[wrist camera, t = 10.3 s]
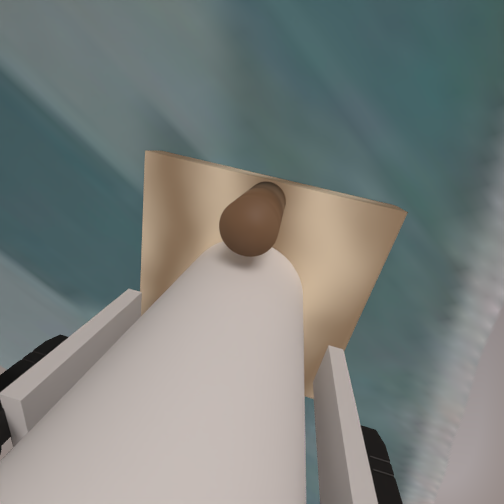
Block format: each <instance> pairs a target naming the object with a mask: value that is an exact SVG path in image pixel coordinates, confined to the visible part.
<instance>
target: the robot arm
mask: <svg viewBox="0 0 504 504" xmlns="http://www.w3.org/2000/svg"><path fill="white" fill-rule="evenodd" d="M141 300H142V292H139V291H135V290H131V289H128V290H127V291H125V292H124V293H123V294H122V295H121V296H119V297H118V298H117V299H116V300H114V301H113V302H112V303H111V304H109V305H108V306H107V307H106V308H104V309H103V310H102V311H101V312H99V313H98V314H97V315H96V316H94V317H93V318H92V319H91V320H90V321H88V322H87V323H86V324H85V325H83V326H82V327H81V328H80V329H78V330H77V331H76V332H75V333H73V334H72V335H71V336H70V337H67V336H63V335H58V336H56V337H54V338H52V339H49V340H47V341H45V342H44V343H43V344H41V345H40V346H38V347H37V348H36V349H34V350H33V352H30V353H29V354H28V355H26V356H25V357H24V358H23V359H22V360H20V361H18V362H17V363H16V364H14V365H13V366H12V367H10V368H9V369H8V370H6V371H5V372H4V373H2V374H1V375H0V453H1V445H3V444H4V443H5V442H6V440H8V439H9V438H10V437H11V440H12V444H13V447H14V446H15V445H16V444H17V443H18V442H19V441H20V440H21V439H22V438H23V437H24V436H25V435H26V434H27V433H28V432H29V431H30V430H31V429H32V428H33V427H34V426H35V425H36V424H37V423H38V422H39V421H40V420H41V419H42V418H43V417H44V416H45V415H46V414H47V412H48V411H49V410H50V409H51V408H52V407H53V406H54V405H55V404H56V403H57V402H58V401H59V400H60V399H61V398H62V397H63V396H64V395H65V394H66V393H67V392H68V391H69V390H70V389H71V388H72V387H73V386H74V385H75V384H76V383H77V382H78V381H79V380H80V379H81V378H82V377H83V375H84V374H85V373H86V372H87V371H88V370H89V369H90V368H91V367H92V366H93V365H94V364H95V363H96V362H97V361H98V360H99V359H100V358H101V357H102V356H103V355H104V354H105V353H106V352H107V351H108V350H109V349H110V348H111V347H112V346H113V345H114V344H115V343H116V342H117V341H118V340H119V338H120V337H121V336H122V335H123V334H124V333H125V332H126V331H127V330H128V329H129V328H130V327H131V326H132V325H133V324H134V323H135V322H136V321H137V320H138V319H139V318H140V317H141ZM313 393H314V409H315V426H316V442H317V458H318V475H319V491H320V504H402V500H401V497H400V493H399V490H398V487H397V483H396V480H395V478H394V473H393V470H392V466H391V464H390V460H389V456H388V453H387V449H386V446H385V444H384V442H383V441H382V439H381V437H380V436H379V434H378V432H377V431H376V430H374V429H371V428H368V427H364V426H361V425H360V421H359V417H358V412H357V408H356V404H355V399H354V395H353V390H352V386H351V381H350V377H349V373H348V368H347V364H346V359H345V355H344V350H343V349H340V348H337V347H333V346H330V345H328V348H327V350H326V352H325V355H324V357H323V359H322V362H321V364H320V367H319V369H318V371H317V374H316V376H315V378H314V381H313Z"/></svg>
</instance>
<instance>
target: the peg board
mask: <svg viewBox="0 0 504 504" xmlns="http://www.w3.org/2000/svg"><path fill="white" fill-rule="evenodd" d="M407 213H408V212H406V211H404V210H403V209H401V208H399V207H397V206H395V205H391V204H387V203H382V202H378V201H374V200H369V199H365V198H361V197H357V196H352V195H348V194H344V193H340V192H335V191H331V190H327V189H322V188H318V187H314V186H310V185H305V184H301V183H297V182H293V181H288V180H284V179H280V178H275V177H271V176H267V175H263V174H258V173H254V172H250V171H246V170H241V169H237V168H233V167H228V166H224V165H220V164H216V163H211V162H207V161H203V160H198V159H194V158H190V157H186V156H181V155H177V154H173V153H169V152H164V151H145V171H144V199H143V228H142V256H141V284H140V292H142V300H141V316H142V315H143V314H144V313H145V312H146V311H147V310H148V309H149V308H150V307H151V306H152V305H153V304H154V302H155V301H156V300H157V299H158V298H159V297H160V296H161V295H162V294H163V293H164V292H165V291H166V290H167V289H168V288H169V287H170V286H171V285H172V284H173V283H174V282H175V281H176V280H177V279H178V278H179V277H180V276H181V275H182V274H183V273H184V272H185V271H186V270H187V269H188V268H189V267H190V265H191V264H192V263H193V262H194V261H195V260H196V259H197V258H198V257H199V256H200V255H201V254H202V253H203V252H204V251H206V250H207V249H208V248H210V247H211V246H213V245H215V244H217V243H219V242H224V243H225V244H226V246H227V247H228V248H229V249H230V250H232V251H233V252H235V253H237V254H239V255H242V256H246V257H254V256H259V255H262V254H264V253H266V252H267V251H268V250H270V249H271V248H272V247H273V248H274V249H276V250H277V251H279V252H280V253H281V254H283V255H284V256H285V257H286V258H287V259H288V260H289V261H290V262H291V264H292V265H293V266H294V268H295V270H296V271H297V273H298V275H299V278H300V281H301V284H302V289H303V330H304V396H306V397H309V398H313V399H314V393H313V381H314V378H315V376H316V374H317V371H318V369H319V367H320V364H321V362H322V359H323V357H324V355H325V352H326V350H327V348H328V345H330V346H333V347H337V348H340V349H343V350H345V348H346V346H347V344H348V341H349V339H350V337H351V335H352V333H353V330H354V328H355V326H356V324H357V322H358V320H359V317H360V315H361V313H362V311H363V309H364V307H365V304H366V302H367V300H368V298H369V296H370V293H371V291H372V289H373V287H374V285H375V283H376V280H377V278H378V276H379V274H380V272H381V270H382V267H383V265H384V263H385V261H386V259H387V256H388V254H389V252H390V250H391V248H392V246H393V243H394V241H395V239H396V237H397V235H398V232H399V230H400V228H401V226H402V224H403V222H404V219H405V217H406V215H407Z"/></svg>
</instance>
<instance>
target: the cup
mask: <svg viewBox="0 0 504 504" xmlns="http://www.w3.org/2000/svg"><path fill="white" fill-rule="evenodd" d="M0 504H306V463H305V396H304V330H303V289H302V284H301V281H300V278H299V275H298V273H297V271H296V270H295V268H294V266H293V265H292V264H291V262H290V261H289V260H288V259H287V258H286V257H285V256H284V255H283V254H281V253H280V252H279V251H277V250H276V249H274V248H273V247H272V248H271V249H270V250H268V251H267V252H266V253H264V254H262V255H259V256H254V257H246V256H242V255H239V254H237V253H235V252H233V251H232V250H230V249H229V248H228V247H227V246H226V244H225V243H224V242H219V243H217V244H215V245H213V246H211V247H210V248H208V249H207V250H206V251H204V252H203V253H202V254H201V255H200V256H199V257H198V258H197V259H196V260H195V261H194V262H193V263H192V264H191V265H190V267H189V268H188V269H187V270H186V271H185V272H184V273H183V274H182V275H181V276H180V277H179V278H178V279H177V280H176V281H175V282H174V283H173V284H172V285H171V286H170V287H169V288H168V289H167V290H166V291H165V292H164V293H163V294H162V295H161V296H160V297H159V298H158V299H157V300H156V301H155V302H154V304H153V305H152V306H151V307H150V308H149V309H148V310H147V311H146V312H145V313H144V314H143V315H142V316H141V317H140V318H139V319H138V320H137V321H136V322H135V323H134V324H133V325H132V326H131V327H130V328H129V329H128V330H127V331H126V332H125V333H124V334H123V335H122V336H121V337H120V338H119V340H118V341H117V342H116V343H115V344H114V345H113V346H112V347H111V348H110V349H109V350H108V351H107V352H106V353H105V354H104V355H103V356H102V357H101V358H100V359H99V360H98V361H97V362H96V363H95V364H94V365H93V366H92V367H91V368H90V369H89V370H88V371H87V372H86V373H85V374H84V375H83V377H82V378H81V379H80V380H79V381H78V382H77V383H76V384H75V385H74V386H73V387H72V388H71V389H70V390H69V391H68V392H67V393H66V394H65V395H64V396H63V397H62V398H61V399H60V400H59V401H58V402H57V403H56V404H55V405H54V406H53V407H52V408H51V409H50V410H49V411H48V412H47V414H46V415H45V416H44V417H43V418H42V419H41V420H40V421H39V422H38V423H37V424H36V425H35V426H34V427H33V428H32V429H31V430H30V431H29V432H28V433H27V434H26V435H25V436H24V437H23V438H22V439H21V440H20V441H19V442H18V443H17V444H16V445H15V446H14V447H13V448H12V449H11V451H10V452H9V453H8V454H7V455H6V456H5V457H4V458H3V459H2V460H1V461H0Z"/></svg>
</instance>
